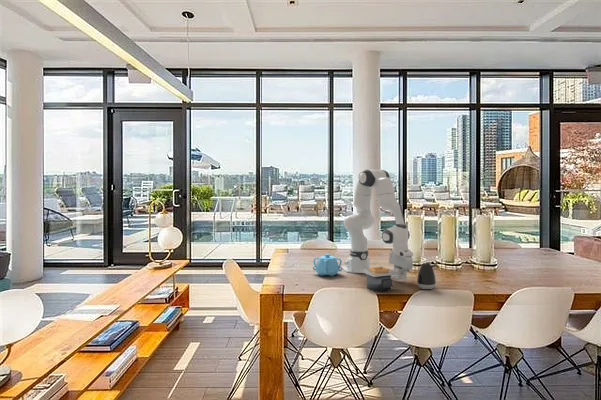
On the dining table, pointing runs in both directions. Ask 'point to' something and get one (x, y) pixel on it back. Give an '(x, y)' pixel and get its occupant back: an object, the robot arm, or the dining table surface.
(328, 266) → the decorative pot
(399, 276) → the pump housing
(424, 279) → the pump dispenser
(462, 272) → the dining table surface
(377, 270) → the clip collar
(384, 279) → the motor
